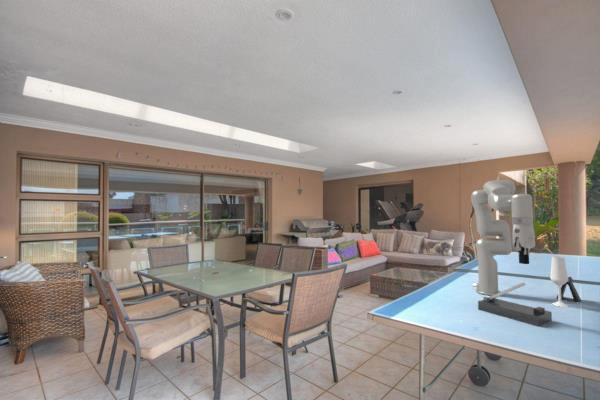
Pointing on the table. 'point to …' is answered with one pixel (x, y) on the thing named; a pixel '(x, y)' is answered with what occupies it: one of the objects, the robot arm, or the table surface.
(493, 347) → the table surface
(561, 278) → the champagne flute
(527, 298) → the table surface
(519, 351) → the table surface
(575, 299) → the phone stand
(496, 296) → the strap
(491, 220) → the robot arm
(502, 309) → the block
